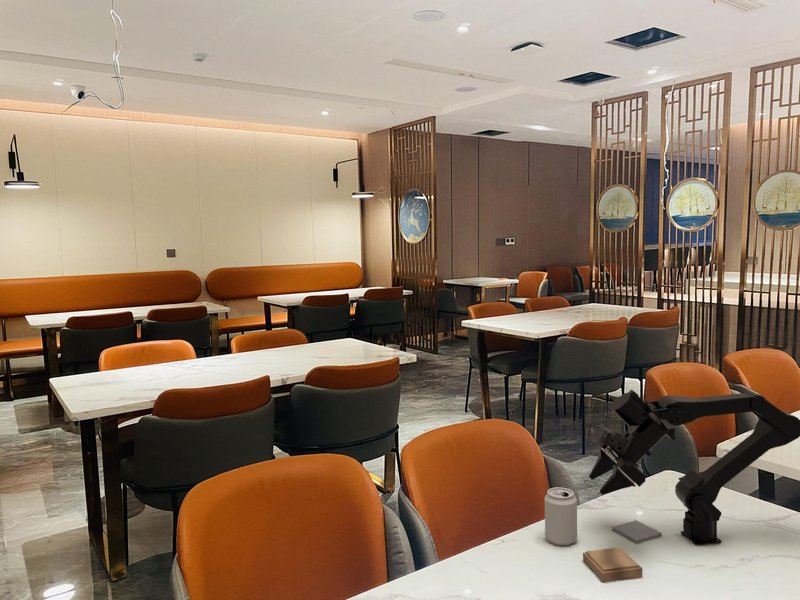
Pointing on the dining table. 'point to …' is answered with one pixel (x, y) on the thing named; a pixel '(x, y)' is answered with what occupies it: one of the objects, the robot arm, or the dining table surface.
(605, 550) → the plinth
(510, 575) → the dining table surface
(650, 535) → the slate coaster
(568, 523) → the can
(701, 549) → the dining table surface
